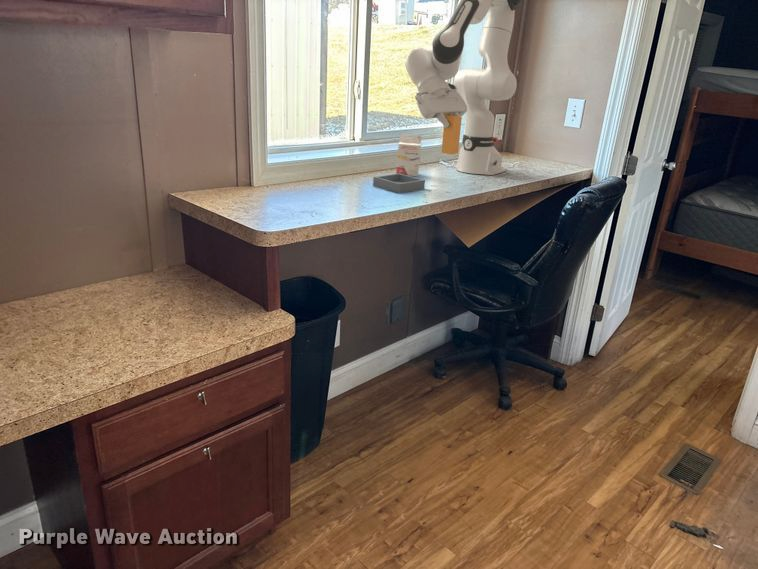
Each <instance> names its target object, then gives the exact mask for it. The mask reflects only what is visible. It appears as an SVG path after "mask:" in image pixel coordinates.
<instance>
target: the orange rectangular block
mask: <svg viewBox="0 0 758 569" xmlns="http://www.w3.org/2000/svg"><path fill="white" fill-rule="evenodd" d="M445 118H446V119H447V120H449V121H450V123H451V126H450V127H449V128H445V127H444V126H443V131H442V143H441V153H442V154H448V155H455V154H456V155H457V154H459V151H460V148H459V147H460V139H461V138H460V137H461V131H462V130H461V128H462V124H461V123H462V120H463V119H462V118H463V116H454V115H449V116H445Z"/></svg>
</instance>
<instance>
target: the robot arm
mask: <svg viewBox="0 0 758 569" xmlns="http://www.w3.org/2000/svg"><path fill="white" fill-rule="evenodd" d="M523 1H524V0H458V1H457V4H456V8H455V10H454V12H453V14H452V15H451V18H450V19H449V21H448V23H447V24H446V25H445V27H444V28H442V29H440V31H438V32H437V34H435V36H434V37H433V40H432V43H431V44H432V45H431V46H432V49H427V48H426V49H425V48H423V47H419V46H418V47H416V48H413V49H412V50H411V51H410V52H409V53H408V55H406V58H405V63H404V64H405V65H404V66H405V69H406V71H407V74H408V76H409V77H410V80H411V81H412V83H413V84H414V85H415V86H416V88H417V91H418V92H416V94H415V96H414V99H415V100H416V105H417V108H418V110H419V112H420V114H421V116H422V117H423V118H424V119H425V120H431V119H437V121H439V122H440V123H441V124H442V125H443V128H444V127H445V128H449V127H450V126H451V123H450V121H449V120H447V119H446V118H445V116H449V115H454V116H461V117H463V116H464V115H465V125H464V134H463V135H462V141H461V142H462V146H461V147H460V148H459V152H458V154H459V155H458V159H457V164H455V169H456V170H457V171H459V172H462V173H466V174H471V175H472V174H474V175H486V176H487V175H488V176H494V175H498V174H500V173H504V172H507V169H508V168H507V167H505V166H502V163H503V162H502V161H503V157H502V154H501V153H500V152H499V151H498V150H497V148H495V143H498V141H499V137H496V136H493V134H494V133H493V132H494V124H495V116H494V114H493V112H492V111H491V110H489V109H488V108H487V106H486V103H485V101H486V100H487V101H496V102H497V101H499V102H500V101H508V100H510V99H511V98H512V97H513V96H514V95H515V93H516V91H517V85H518V84H517V79H516V76H515V74H513V72H512V71H511V69H510V66H509V64H508V52H509V47H510V42H511V38H512V33H513V29H514V23H515V12H516V11H515V10H516V9H517V8H518V7H519V5H521V4H522V2H523ZM483 20H485V21H484V22H483ZM481 22H483V27H482V31H481V35H480V39H479V43H478V53H479V55H480V56H481V57H482V58H483V59H484V60H485V61H486V68H474V67H472V68H464V69H461V70H460V66H461V59H462V54H463V51H464V46H465V34H466V32H467V31H468V28H469V27H470V25H477V24H480V23H481ZM452 78H454V79H453V83H450V82H447V80H449V79H450V80H451V79H452ZM461 125H462V122H461Z"/></svg>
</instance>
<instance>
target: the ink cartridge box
mask: <svg viewBox="0 0 758 569" xmlns="http://www.w3.org/2000/svg"><path fill="white" fill-rule="evenodd" d="M410 138H411V139H410ZM421 141H422V135H419V134H407V133H406V134H405V133H401V134H400V136H399V143H398V148H397V158H396V159H397V160H396V170H395V171H396V172H395V174H398V173H400V174H403V175H407V176H411V177H419V172H420V163H421V162H420V160H421V151H422V142H421Z"/></svg>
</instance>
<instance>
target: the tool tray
mask: <svg viewBox="0 0 758 569" xmlns="http://www.w3.org/2000/svg"><path fill="white" fill-rule="evenodd" d="M372 186H374V187H376V188H380V189H383V190H388V191H390V192H394V193H397V194H401V193H407V192H413V191H419V190H423V189H425V186H426V180H425V179H423V178H422V179H421V178H418V177H416V176H408V175H403V174H400V173H398V174H396V173H392V174H384V175H379V176H373V179H372Z"/></svg>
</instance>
